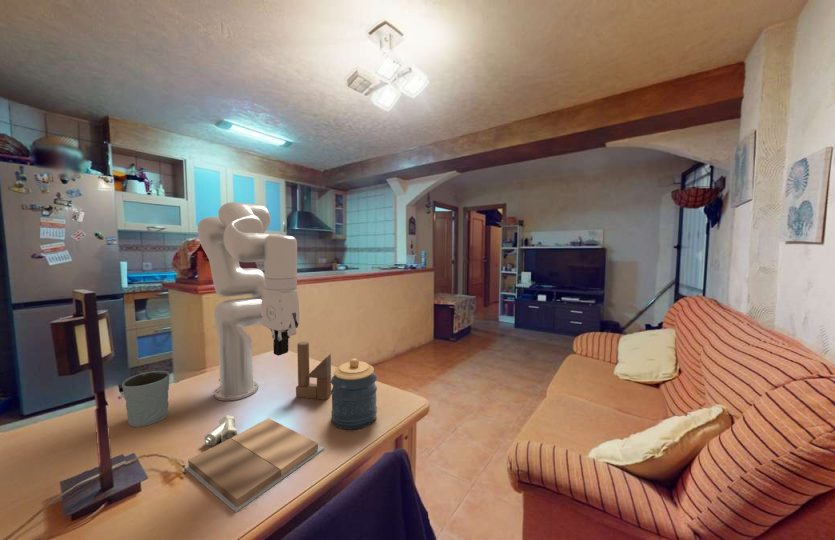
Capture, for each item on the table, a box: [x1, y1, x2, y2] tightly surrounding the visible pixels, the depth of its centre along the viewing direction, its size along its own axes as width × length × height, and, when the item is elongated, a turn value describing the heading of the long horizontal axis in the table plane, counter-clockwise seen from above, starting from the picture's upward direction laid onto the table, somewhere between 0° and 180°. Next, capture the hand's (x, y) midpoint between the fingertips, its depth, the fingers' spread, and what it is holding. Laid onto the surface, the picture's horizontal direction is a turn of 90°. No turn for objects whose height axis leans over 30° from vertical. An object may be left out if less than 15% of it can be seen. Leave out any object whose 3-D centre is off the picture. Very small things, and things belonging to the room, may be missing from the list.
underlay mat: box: [184, 444, 325, 513], centre depth 71 cm, size 21×21×1 cm
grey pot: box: [121, 370, 171, 427], centre depth 87 cm, size 10×10×12 cm
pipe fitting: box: [204, 414, 238, 447], centre depth 79 cm, size 8×4×7 cm
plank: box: [231, 417, 319, 476], centre depth 75 cm, size 20×10×2 cm, turn 58°
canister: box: [330, 357, 378, 430], centre depth 88 cm, size 13×13×18 cm
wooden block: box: [295, 340, 332, 400], centre depth 100 cm, size 4×11×18 cm, turn 83°
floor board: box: [187, 438, 280, 507], centre depth 67 cm, size 20×9×2 cm, turn 58°
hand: (281, 353), depth 80 cm, fingers closed
